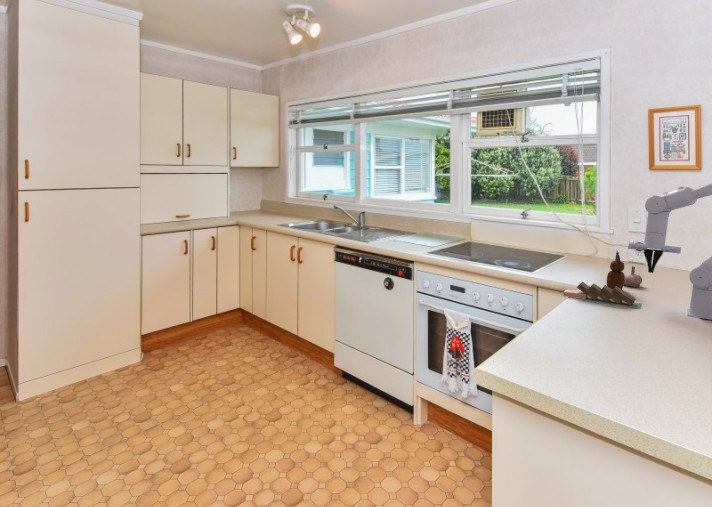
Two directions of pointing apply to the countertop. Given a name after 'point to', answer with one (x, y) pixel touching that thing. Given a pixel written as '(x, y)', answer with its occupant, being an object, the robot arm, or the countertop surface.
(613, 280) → the wooden figurine
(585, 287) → the domino
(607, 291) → the domino
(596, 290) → the domino
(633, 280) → the garlic bulb
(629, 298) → the domino
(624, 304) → the mat
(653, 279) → the countertop surface
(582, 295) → the domino end
